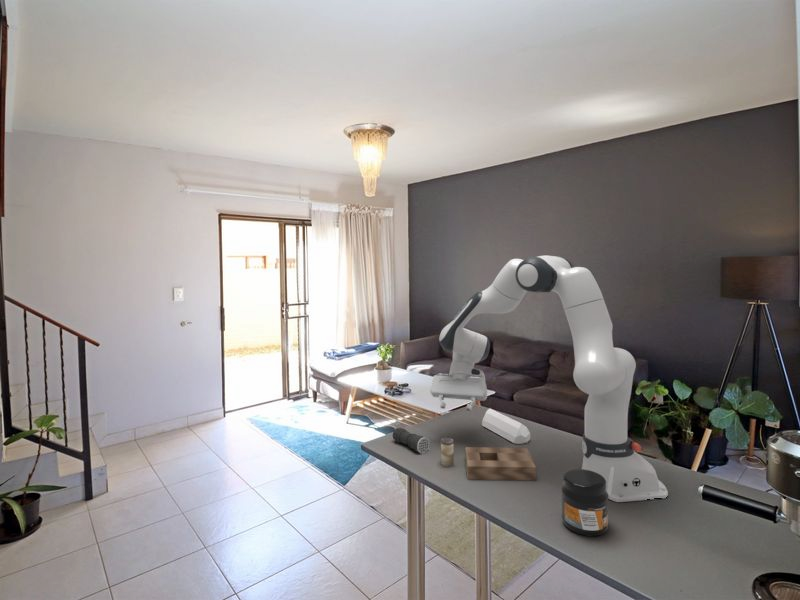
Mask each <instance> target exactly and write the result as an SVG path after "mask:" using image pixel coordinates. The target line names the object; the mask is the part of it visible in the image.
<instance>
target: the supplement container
mask: <svg viewBox="0 0 800 600" xmlns="http://www.w3.org/2000/svg"><path fill="white" fill-rule="evenodd" d="M562 482H563V484H562V485H561V489H560V490H561V491H560V492H561V520H562V523H563V524H564V525H565V527H567V528H568V529H569V530H571V531H572V532H574V533H576V534H577V535H582V536H587V537H596V536H600V535H603V534H604V533H606V532H607V530H608V529H609V528H608V527H609V496H608V493H607V491H606V480H605V478H604V477H603V476H601V475H600V474H598V473H596V472H593V471H590V470H585V469H582V468H574V469H569V470H567V471H565V472H564V473H563V481H562Z"/></svg>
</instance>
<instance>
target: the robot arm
mask: <svg viewBox="0 0 800 600" xmlns="http://www.w3.org/2000/svg"><path fill="white" fill-rule="evenodd" d="M528 292H530V293H550V292H553V293H556V294H557V295H558V297H559V299H560V301H561V304H562V307H563V311H564V314H565V317H566V320H567V322H568V326H569V329H570V330H569V331H570V333H571V337H572V343H573V345H572V346H573V354H574V368H573V374H572V376H573V381H574V383H575V385H576V387H578V389H579V390H580V391H581V392H583V393H584V394H587V395H588V397H587V400H586V403H585V405H584V433H583V434H582V447H581V448H582V453H583V456H582V457H583V459H582V465H581V469H585V470H590V471H593V472H596V473H598V474H600V475H601V476H603V477H604V478H605V480H606V491H607V493H608V496H609V498H608V500H611V501H613V502H615V503H625V502H635V501H636V502H637V501H648V500H647V499H650V500H655V499H654V498H662V499H667V498H668V497H667V496H669V492H668V489H667V487H666V486H665V484H664V483H663V482H662V481H661V480H659V479H658V475H657V472H656V470H655V468H654V466H653V465H652V464H651V463H650V462H648V461H647V460H646V459H645V458H644V457H643V456H642V455H640V454H638V453H641V451H642V449H643V448H642V446H641V445H640V444H639V443H637V442H635V441H634V440H633V439H632V438H630V437H628V419H629V418H628V416H629V415H628V413H629V406H630V400H631V395H632V387H633V381H634V374H635V372H636V367H637V365H636V364H637V363H636V360H635V357H634V356H633V355H632V354H631V352H629V351H628V350H626V349H624V348H620V347H614V341H613V327H614V325H613V322H612V319H611V315H610V313H609V310H608V308H607V305H606V302H605V299H604V296H603V293H602V290H601V289H600V287H599V284H598V282H597V281H596V279H595V277H594V275H593V273H592V272H591V271H590V270H589V269H588V268H586V267H582V266H575V265H574V263H573V262H572V261H571V260H570V259H569V258H568V257H564V256H561V255H548V254H547V255H546V254H545V255H539V256H538V255H537V256H530V257H527V258H525V259H521V258H513V259H512V258H511V259H510V260H509V261H508V262H506V263H505V265H504V266H503V267H502V268H501V270H500V271H499V272H498V274H497V275H496V277H495V278H494V280H493V282H492V283H491V285H489V286H488V287H487V288H486V289H484V290H480V291H477V292H475V293H474V294H473V295H472V296H471V297H469V299H467V301H466V302H465V304H463V306H462V307H461V309H460V310H459V311H458V312H457V313H456V314H455V316H454V317H453V318H452V319H451V320H450V321H449V322H448V323H447V324H446V325H445V326H444V327H443V328H442V329H441V332H440V334H439V337H438V342H439V345H440V346H441V348H442V349H443V351H446V352H451V353H452V361H451V364H450V368H449V373H440V372H439V373H438V372H437V374H435V375H433V377H432V383H431V385H430V388H429V389H430V390H429V391H430V394H431V396H432V397H433V398H438V399H439V402H440V405H439V407H440V409H443V410H444V409H446V402H445V401H444V400H445V399H452V400H453V399H456V400H464V401H465V400H466V401H468V400H469V401H470V403H467V405H466V411H468V412H472V410H473V407H474V406H475V404H476V403H477V401H481V402H485V401H486V400H487V398H488V387H487V383H486V375H485V373H484V371H483V370H481V369H477V368H475V364H479V363H481V362H483V361H484V360H486V359H487V358H488V356H489V353H490V348H491V343H490V340H489V338H488V336H486V335H483V334H482V333H479V332H477V331H473V330H470V329H468V328H465V326H466V325H467V324H468V322H469V321H470V320H471V319H472V318H473V317H474V316H476V315H481V314H494V315H503V314H508V313H510V312H511V313H512V312H513V311H514V310H516V308H517V307H518V306H519V305H520V303H521V301H522V300H523V298H524V297H525V295H526V293H528ZM666 497H667V498H666Z"/></svg>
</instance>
